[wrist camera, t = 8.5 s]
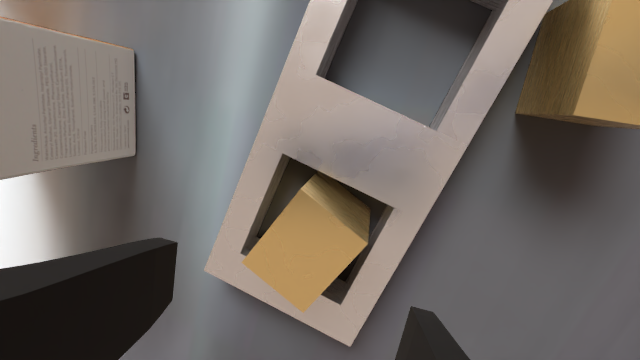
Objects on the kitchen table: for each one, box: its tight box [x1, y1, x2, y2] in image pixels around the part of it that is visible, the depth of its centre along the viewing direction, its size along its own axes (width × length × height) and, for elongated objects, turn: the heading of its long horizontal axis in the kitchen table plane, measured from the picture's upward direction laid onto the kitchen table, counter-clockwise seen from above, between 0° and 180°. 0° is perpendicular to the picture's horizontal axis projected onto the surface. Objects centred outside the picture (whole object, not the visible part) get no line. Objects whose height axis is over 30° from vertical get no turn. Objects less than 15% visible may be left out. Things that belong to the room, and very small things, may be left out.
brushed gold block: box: [241, 171, 370, 313], centre depth 16 cm, size 4×4×5 cm
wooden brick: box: [515, 0, 640, 129], centre depth 13 cm, size 4×4×5 cm
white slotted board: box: [204, 0, 553, 347], centre depth 16 cm, size 9×20×2 cm, turn 155°
